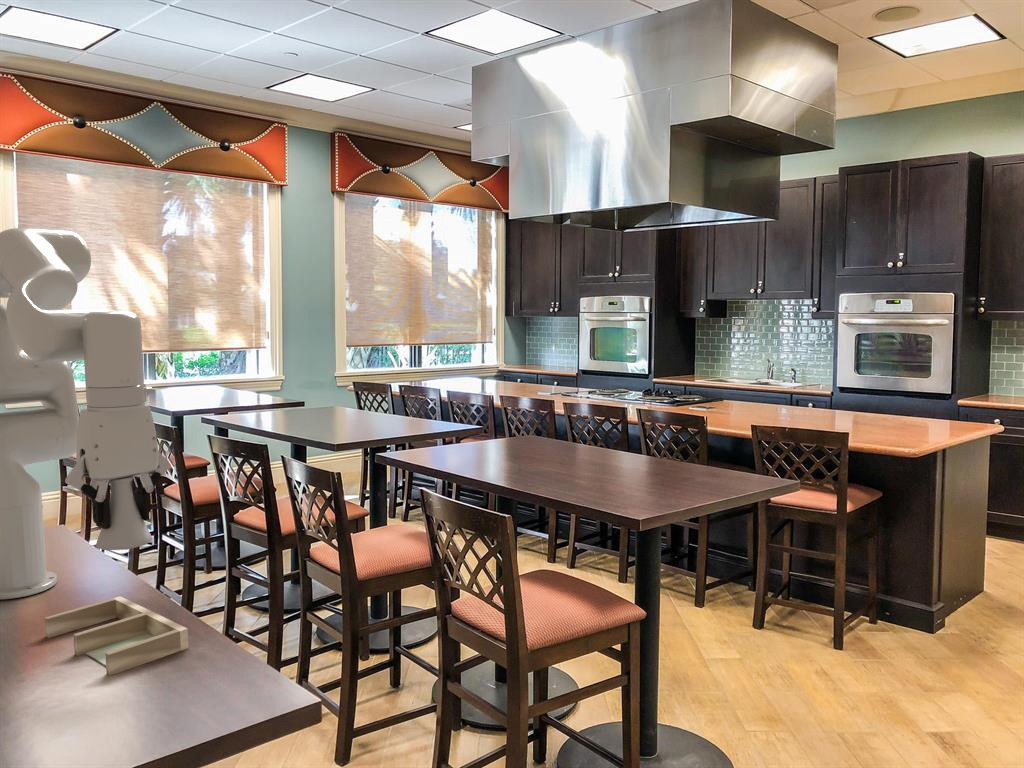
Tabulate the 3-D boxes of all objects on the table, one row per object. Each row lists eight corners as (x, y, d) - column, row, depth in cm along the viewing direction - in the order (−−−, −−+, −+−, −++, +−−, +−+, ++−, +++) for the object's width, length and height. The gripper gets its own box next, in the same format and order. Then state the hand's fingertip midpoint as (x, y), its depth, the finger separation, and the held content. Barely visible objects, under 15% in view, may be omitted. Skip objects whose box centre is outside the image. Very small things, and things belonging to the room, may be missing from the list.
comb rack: (45, 636, 128) (44, 617, 127) (121, 613, 137) (120, 596, 136) (109, 675, 114) (108, 654, 114) (188, 647, 123) (187, 628, 123)
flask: (129, 553, 116) (125, 483, 115) (85, 551, 118) (80, 481, 117) (162, 539, 123) (158, 473, 122) (119, 537, 125) (115, 471, 124)
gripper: (160, 390, 127) (165, 507, 129) (41, 402, 114) (49, 531, 116) (185, 394, 122) (191, 515, 124) (64, 406, 109) (73, 541, 111)
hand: (122, 521), depth 120 cm, fingers closed on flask, 5 cm apart
